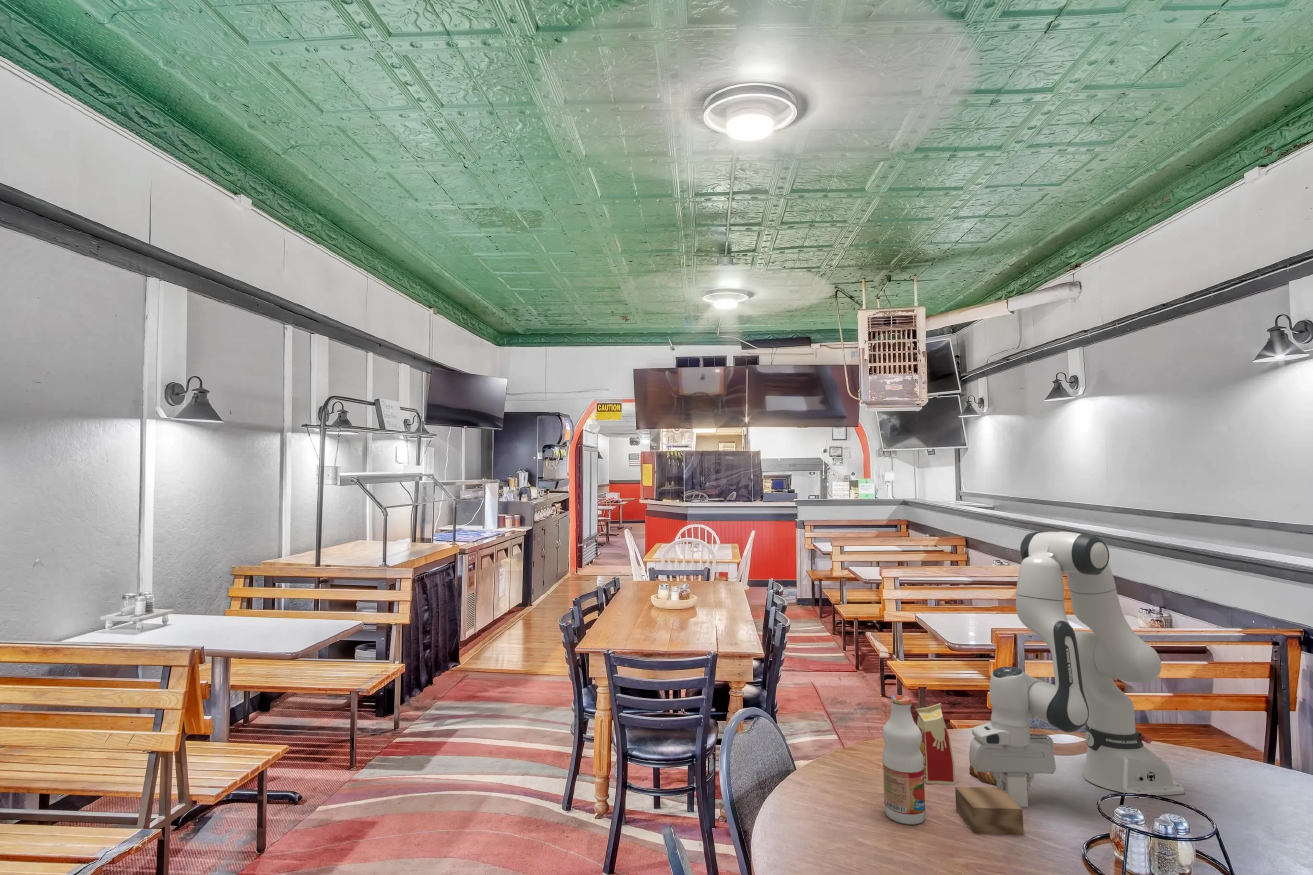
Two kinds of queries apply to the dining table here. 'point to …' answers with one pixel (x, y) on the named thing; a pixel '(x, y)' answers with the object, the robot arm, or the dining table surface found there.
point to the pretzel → (983, 776)
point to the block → (989, 811)
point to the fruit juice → (903, 765)
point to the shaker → (1016, 787)
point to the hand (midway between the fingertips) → (1013, 789)
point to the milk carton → (935, 746)
